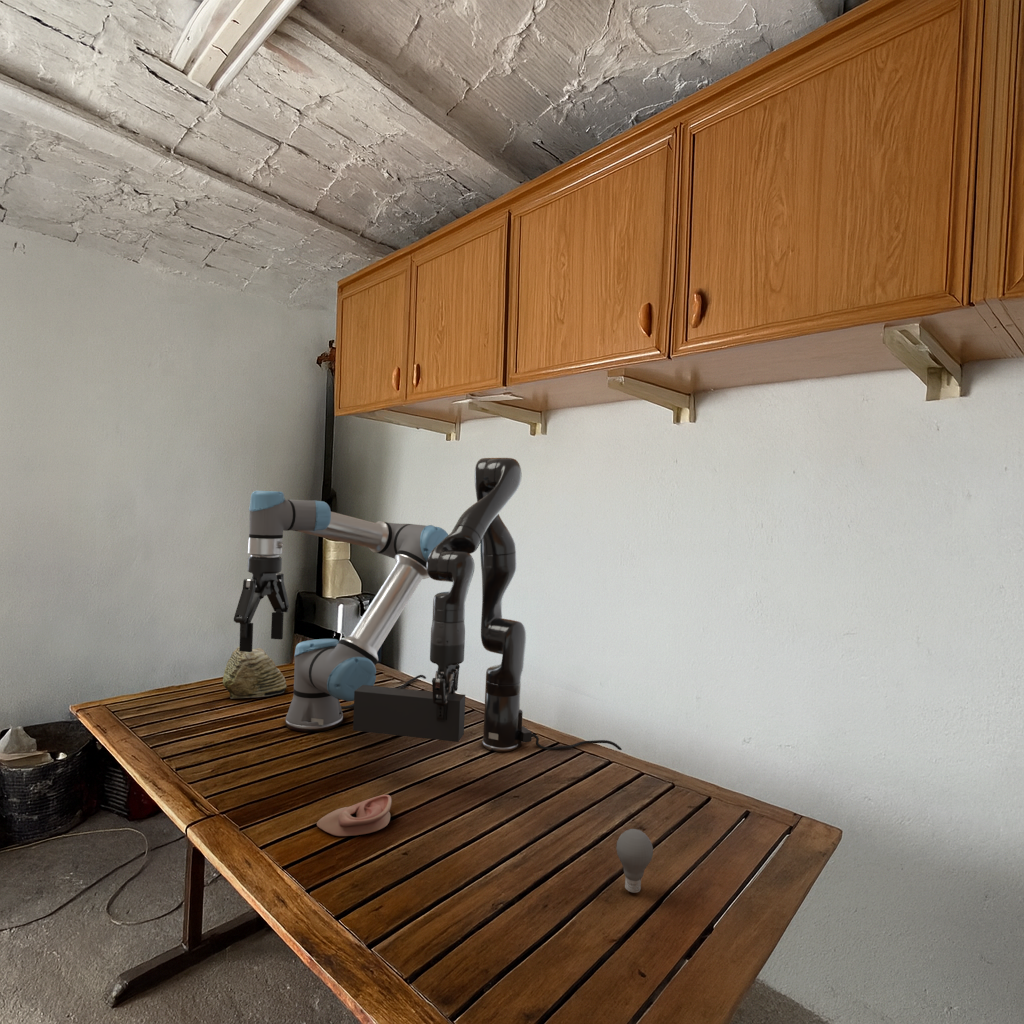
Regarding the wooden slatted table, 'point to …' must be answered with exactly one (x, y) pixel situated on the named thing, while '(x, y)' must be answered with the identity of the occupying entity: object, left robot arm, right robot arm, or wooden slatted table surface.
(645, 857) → the light bulb
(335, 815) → the anatomical model
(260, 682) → the fossil
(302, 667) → the left robot arm
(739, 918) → the wooden slatted table surface
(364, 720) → the bar
